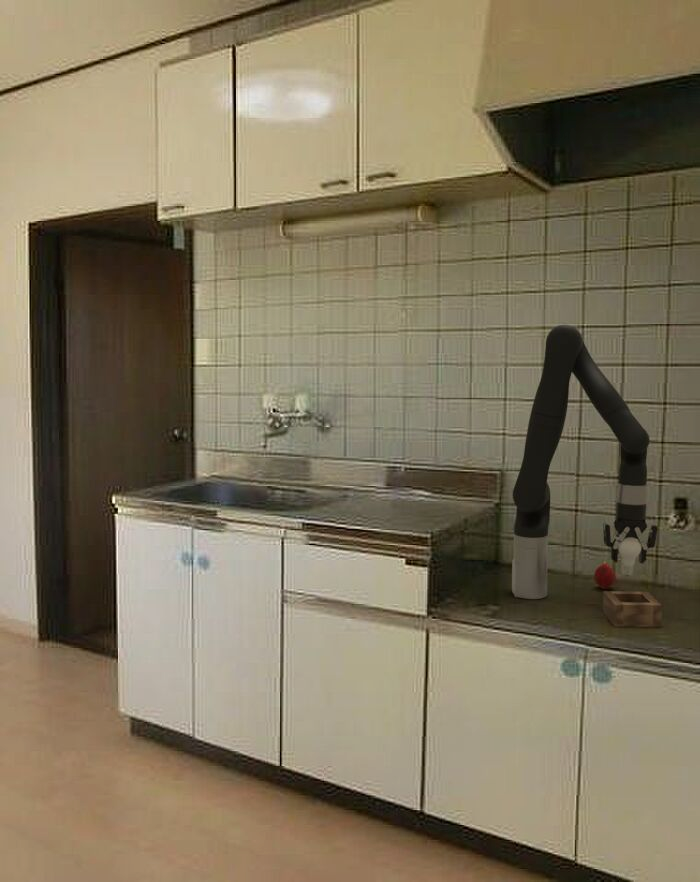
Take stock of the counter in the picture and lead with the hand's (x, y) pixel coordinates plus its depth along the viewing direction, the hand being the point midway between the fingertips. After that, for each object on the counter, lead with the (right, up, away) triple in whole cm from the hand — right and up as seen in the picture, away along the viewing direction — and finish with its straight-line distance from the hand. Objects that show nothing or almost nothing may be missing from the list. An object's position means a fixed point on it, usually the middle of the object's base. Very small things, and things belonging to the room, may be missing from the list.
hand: (628, 562), depth 210 cm
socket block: (-3, -13, -12) cm, 18 cm away
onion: (-2, -10, +14) cm, 17 cm away
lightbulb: (0, -4, 0) cm, 4 cm away
